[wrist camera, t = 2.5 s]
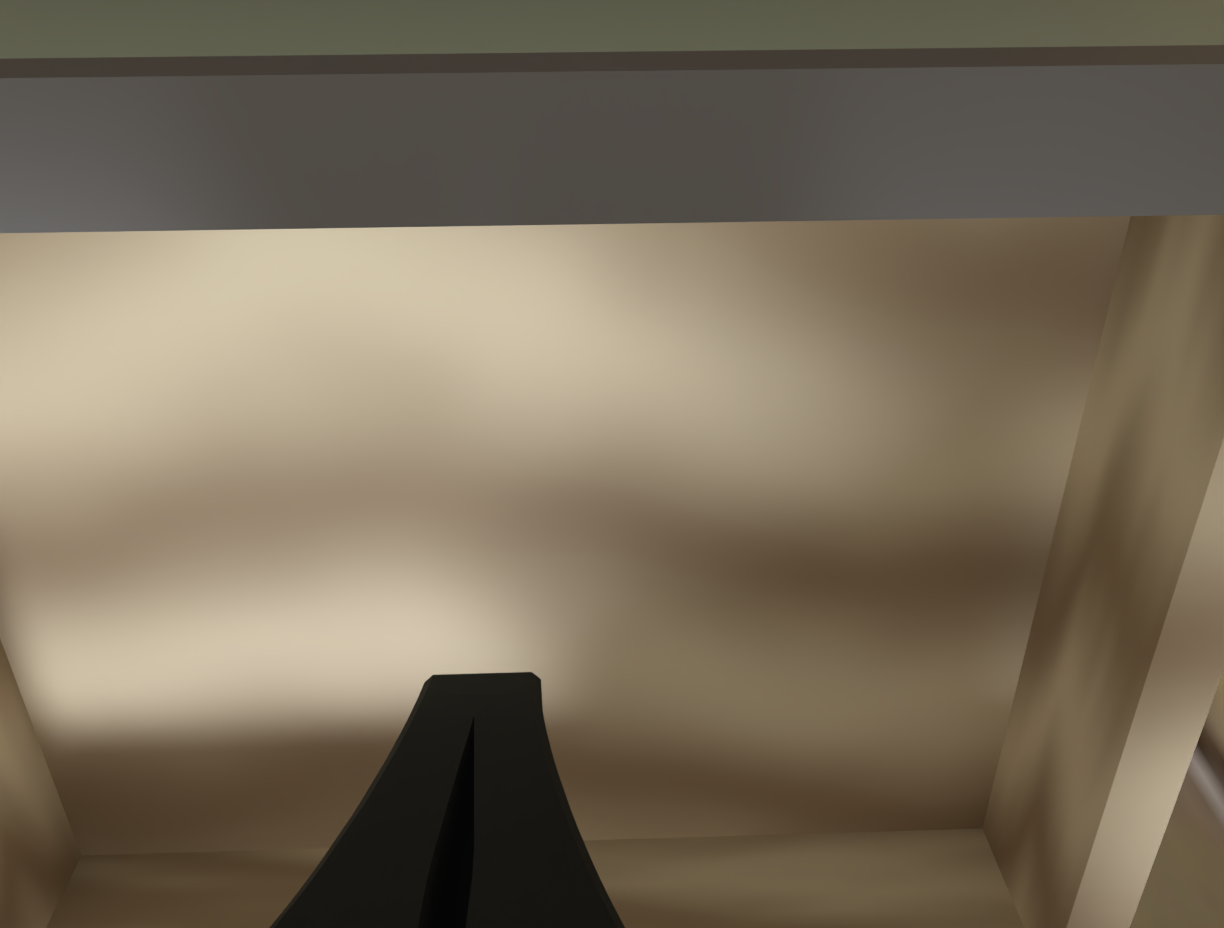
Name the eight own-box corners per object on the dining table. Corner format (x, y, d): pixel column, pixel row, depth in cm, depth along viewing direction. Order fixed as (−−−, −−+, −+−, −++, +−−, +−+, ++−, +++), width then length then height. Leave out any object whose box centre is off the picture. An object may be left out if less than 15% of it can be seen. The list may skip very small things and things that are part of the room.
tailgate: (1138, 73, 16) (1494, 209, 10) (-177, 88, 15) (-671, 243, 9) (1161, -22, 15) (1556, 60, 9) (-213, -10, 15) (-769, 87, 9)
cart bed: (1006, 822, 25) (1095, 1020, 21) (63, 850, 25) (-45, 1060, 21) (1201, 68, 17) (1416, 142, 13) (-231, 85, 16) (-522, 169, 12)
